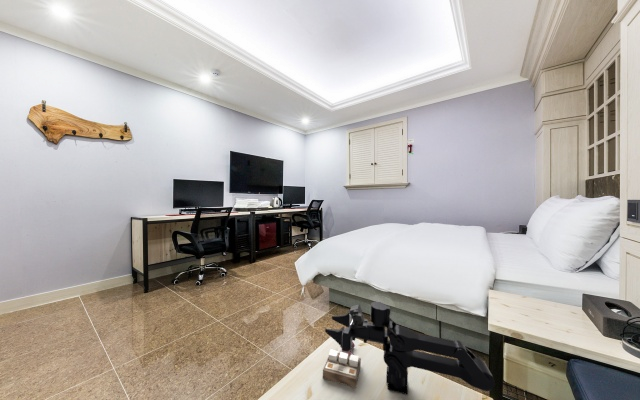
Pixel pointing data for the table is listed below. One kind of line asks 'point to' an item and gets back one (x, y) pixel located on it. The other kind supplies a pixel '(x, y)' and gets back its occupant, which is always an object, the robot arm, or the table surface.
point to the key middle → (343, 358)
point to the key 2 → (354, 361)
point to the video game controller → (349, 351)
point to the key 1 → (333, 355)
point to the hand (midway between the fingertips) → (328, 323)
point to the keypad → (341, 372)
